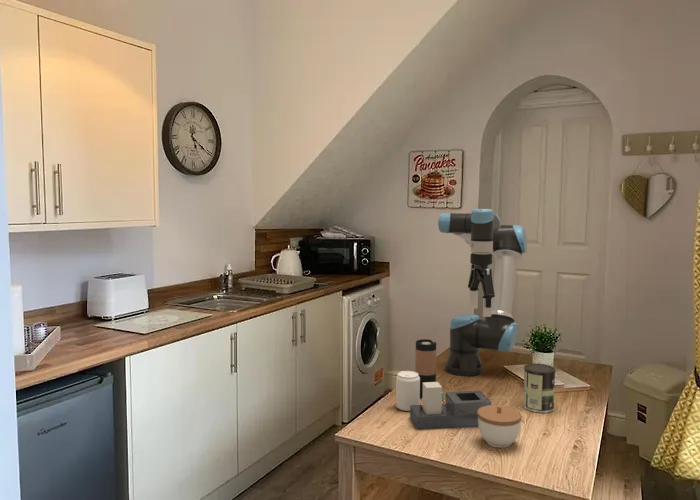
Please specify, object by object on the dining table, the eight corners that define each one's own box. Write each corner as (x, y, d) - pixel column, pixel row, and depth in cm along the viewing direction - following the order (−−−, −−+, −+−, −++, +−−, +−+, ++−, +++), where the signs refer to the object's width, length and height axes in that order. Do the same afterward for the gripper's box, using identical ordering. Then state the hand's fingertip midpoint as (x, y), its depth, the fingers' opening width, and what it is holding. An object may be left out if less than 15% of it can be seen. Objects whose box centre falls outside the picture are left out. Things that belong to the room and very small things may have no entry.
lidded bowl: (468, 442, 165) (469, 406, 164) (491, 429, 173) (491, 395, 172) (506, 456, 156) (507, 418, 155) (528, 442, 164) (529, 406, 163)
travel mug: (413, 397, 200) (414, 344, 198) (416, 390, 208) (416, 338, 206) (434, 399, 199) (435, 345, 197) (436, 392, 206) (437, 339, 204)
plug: (422, 415, 181) (422, 382, 180) (440, 414, 182) (440, 381, 181) (426, 421, 176) (426, 387, 175) (444, 420, 177) (445, 387, 176)
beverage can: (421, 404, 194) (421, 371, 193) (417, 413, 186) (418, 378, 185) (398, 402, 196) (398, 369, 195) (394, 410, 189) (394, 376, 187)
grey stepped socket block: (410, 416, 183) (410, 393, 183) (480, 413, 186) (480, 390, 185) (417, 429, 173) (417, 405, 173) (490, 425, 176) (491, 401, 175)
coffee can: (551, 402, 196) (553, 364, 194) (556, 414, 186) (557, 373, 184) (521, 400, 198) (522, 362, 196) (524, 411, 188) (525, 371, 186)
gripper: (460, 249, 206) (459, 305, 208) (483, 257, 181) (482, 320, 183) (479, 249, 207) (478, 305, 209) (505, 256, 182) (504, 320, 184)
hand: (480, 312), depth 196 cm, fingers open, 13 cm apart
